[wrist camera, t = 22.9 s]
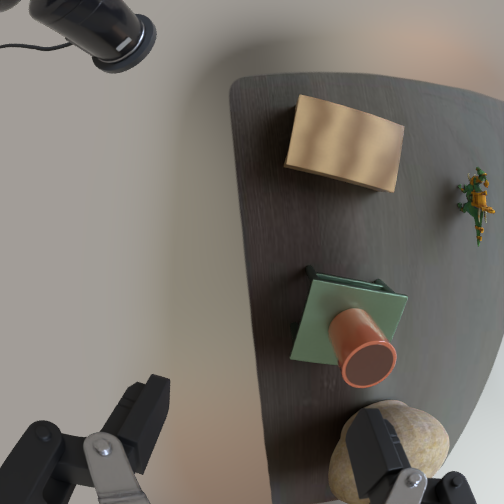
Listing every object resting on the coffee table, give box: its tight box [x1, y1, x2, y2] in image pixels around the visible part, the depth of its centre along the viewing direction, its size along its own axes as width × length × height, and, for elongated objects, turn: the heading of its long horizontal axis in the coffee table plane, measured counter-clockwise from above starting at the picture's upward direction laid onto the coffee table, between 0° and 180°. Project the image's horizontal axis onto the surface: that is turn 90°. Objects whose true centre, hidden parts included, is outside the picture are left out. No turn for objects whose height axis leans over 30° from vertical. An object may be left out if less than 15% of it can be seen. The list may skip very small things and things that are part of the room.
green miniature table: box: [290, 265, 408, 365], centre depth 37 cm, size 13×11×8 cm
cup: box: [328, 308, 396, 388], centre depth 29 cm, size 6×6×8 cm
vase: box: [329, 400, 449, 504], centre depth 32 cm, size 22×22×30 cm
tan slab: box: [284, 95, 404, 193], centre depth 33 cm, size 14×9×5 cm, turn 79°
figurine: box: [458, 167, 495, 247], centre depth 32 cm, size 3×12×8 cm, turn 5°
